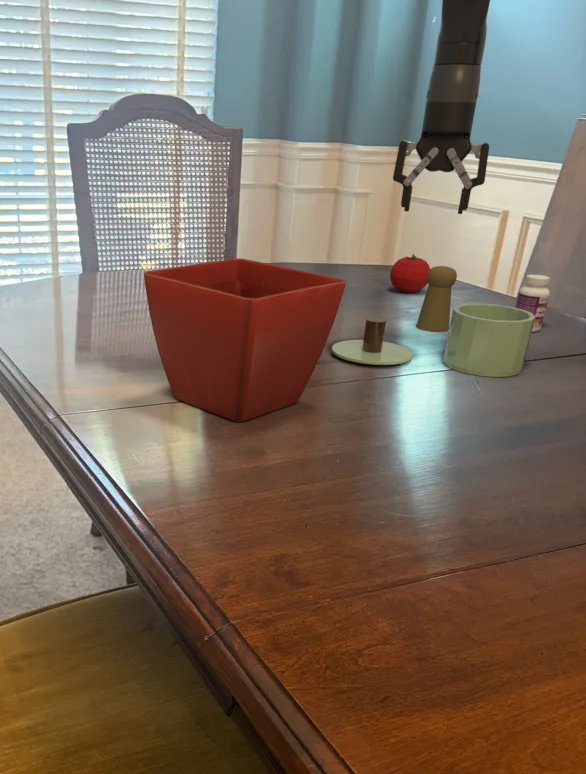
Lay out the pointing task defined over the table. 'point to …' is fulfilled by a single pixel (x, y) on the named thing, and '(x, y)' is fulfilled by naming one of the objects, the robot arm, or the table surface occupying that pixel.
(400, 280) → the tomato
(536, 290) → the pill bottle
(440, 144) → the robot arm
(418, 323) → the pepper mill
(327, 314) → the flower pot
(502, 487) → the table surface
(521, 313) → the pot
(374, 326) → the pot lid
